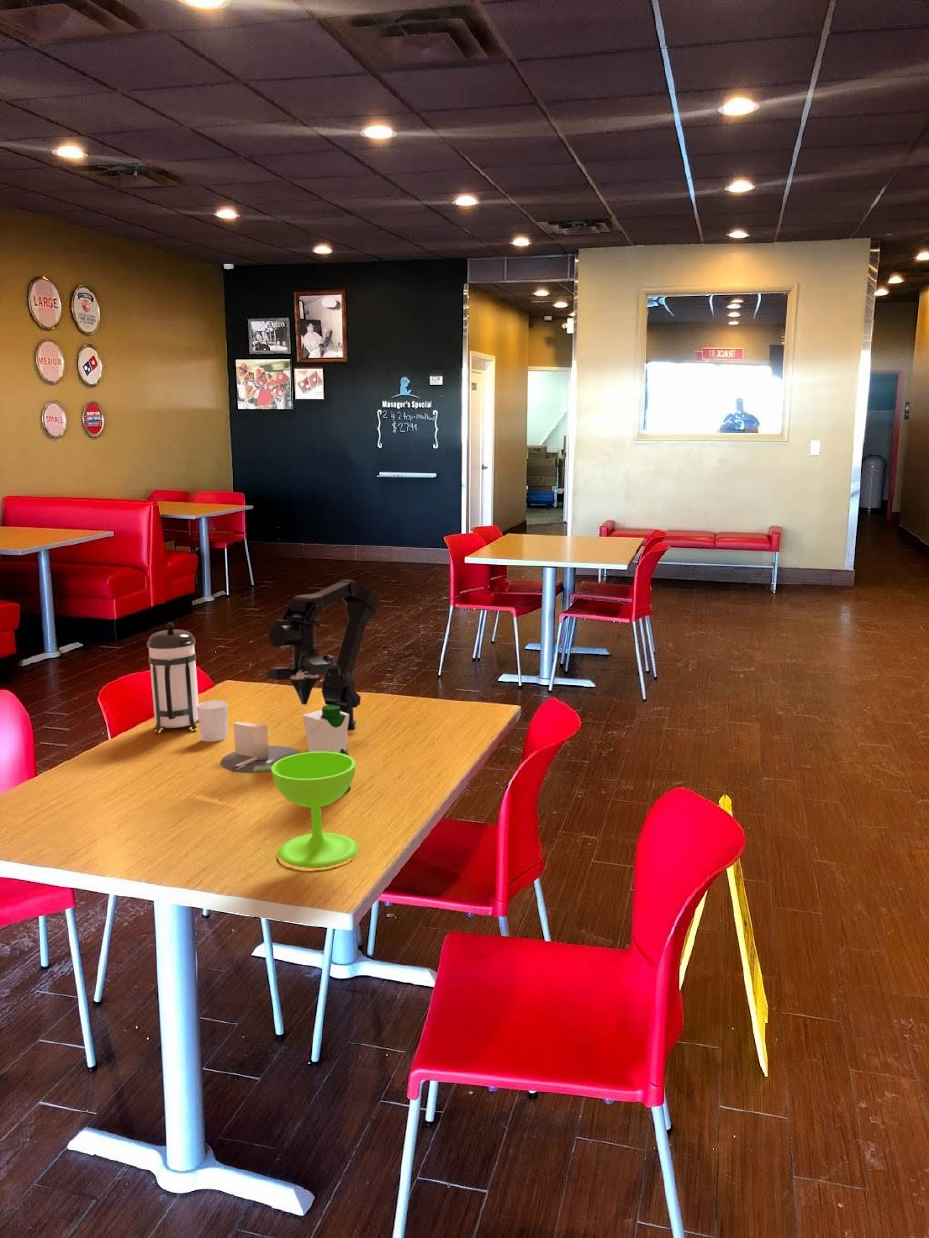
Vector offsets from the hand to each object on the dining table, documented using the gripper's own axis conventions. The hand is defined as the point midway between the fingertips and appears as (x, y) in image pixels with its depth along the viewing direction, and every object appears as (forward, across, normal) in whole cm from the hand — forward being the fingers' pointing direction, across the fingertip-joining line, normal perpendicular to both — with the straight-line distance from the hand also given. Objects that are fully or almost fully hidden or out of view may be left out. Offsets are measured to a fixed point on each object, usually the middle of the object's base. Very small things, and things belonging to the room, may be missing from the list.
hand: (304, 704), depth 250 cm
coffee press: (+9, -18, +38) cm, 43 cm away
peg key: (+12, -19, -1) cm, 22 cm away
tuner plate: (+13, -14, -3) cm, 19 cm away
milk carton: (+16, -12, -30) cm, 36 cm away
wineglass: (+20, -32, -57) cm, 69 cm away
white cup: (+11, -15, +21) cm, 28 cm away
